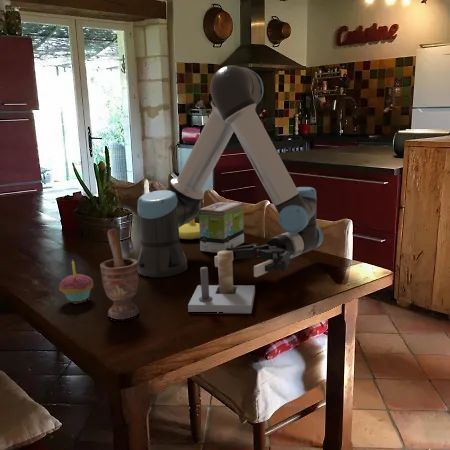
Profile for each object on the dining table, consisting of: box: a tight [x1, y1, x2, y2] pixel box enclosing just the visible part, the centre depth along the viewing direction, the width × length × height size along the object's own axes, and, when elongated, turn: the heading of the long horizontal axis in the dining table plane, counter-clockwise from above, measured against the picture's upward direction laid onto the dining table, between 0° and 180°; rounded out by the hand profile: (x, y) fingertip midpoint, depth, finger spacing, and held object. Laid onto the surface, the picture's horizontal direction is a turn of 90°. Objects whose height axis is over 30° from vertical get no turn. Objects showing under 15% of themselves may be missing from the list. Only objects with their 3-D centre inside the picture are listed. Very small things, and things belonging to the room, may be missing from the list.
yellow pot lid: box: [179, 218, 200, 240], centre depth 182 cm, size 16×16×7 cm
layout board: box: [187, 266, 256, 314], centre depth 119 cm, size 15×13×10 cm
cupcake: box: [58, 259, 94, 301], centre depth 124 cm, size 9×8×12 cm
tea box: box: [198, 201, 245, 254], centre depth 166 cm, size 15×10×15 cm, turn 153°
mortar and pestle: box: [99, 228, 140, 319], centre depth 114 cm, size 12×9×20 cm
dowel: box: [216, 251, 234, 294], centre depth 121 cm, size 4×4×12 cm
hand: (234, 266), depth 123 cm, fingers open, 13 cm apart
